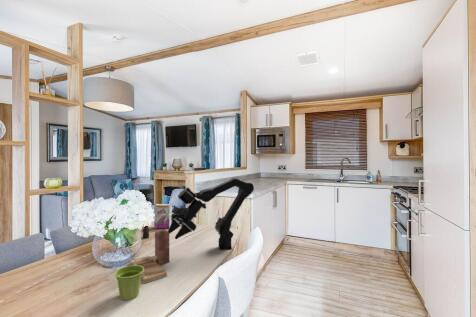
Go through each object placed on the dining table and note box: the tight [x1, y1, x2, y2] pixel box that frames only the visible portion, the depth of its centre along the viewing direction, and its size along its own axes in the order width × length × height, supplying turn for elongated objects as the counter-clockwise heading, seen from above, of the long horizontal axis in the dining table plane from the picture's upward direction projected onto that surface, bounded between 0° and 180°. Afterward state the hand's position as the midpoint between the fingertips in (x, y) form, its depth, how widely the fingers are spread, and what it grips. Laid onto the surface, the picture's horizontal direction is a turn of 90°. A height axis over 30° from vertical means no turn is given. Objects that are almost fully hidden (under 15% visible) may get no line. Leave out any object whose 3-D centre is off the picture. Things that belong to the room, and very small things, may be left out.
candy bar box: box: [153, 203, 173, 229], centre depth 168 cm, size 11×5×16 cm, turn 84°
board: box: [129, 255, 168, 284], centre depth 103 cm, size 22×9×2 cm, turn 38°
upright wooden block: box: [136, 229, 170, 266], centre depth 108 cm, size 14×5×15 cm, turn 128°
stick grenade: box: [138, 187, 154, 239], centre depth 146 cm, size 8×9×30 cm
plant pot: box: [114, 265, 144, 301], centre depth 84 cm, size 9×9×9 cm
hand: (171, 236), depth 114 cm, fingers open, 9 cm apart
